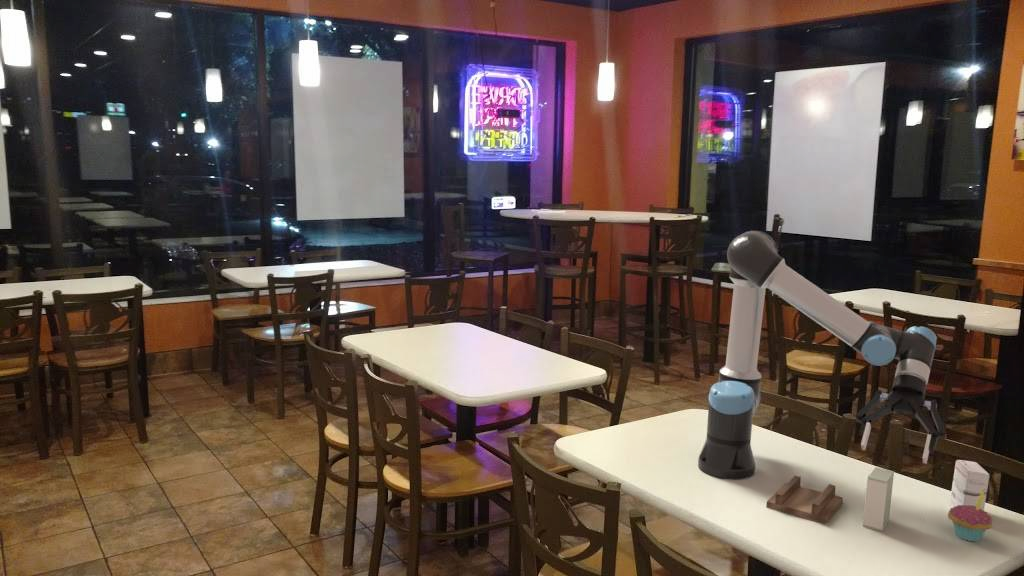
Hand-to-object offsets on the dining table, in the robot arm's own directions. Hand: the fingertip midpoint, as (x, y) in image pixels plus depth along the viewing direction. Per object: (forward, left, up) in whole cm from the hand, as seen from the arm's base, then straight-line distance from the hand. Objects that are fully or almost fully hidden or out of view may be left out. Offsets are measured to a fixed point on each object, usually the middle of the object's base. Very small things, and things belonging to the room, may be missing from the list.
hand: (893, 454), depth 184 cm
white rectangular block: (+16, +11, -14) cm, 24 cm away
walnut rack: (-16, -11, -14) cm, 24 cm away
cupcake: (+18, -4, -14) cm, 23 cm away
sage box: (0, -10, -14) cm, 17 cm away
